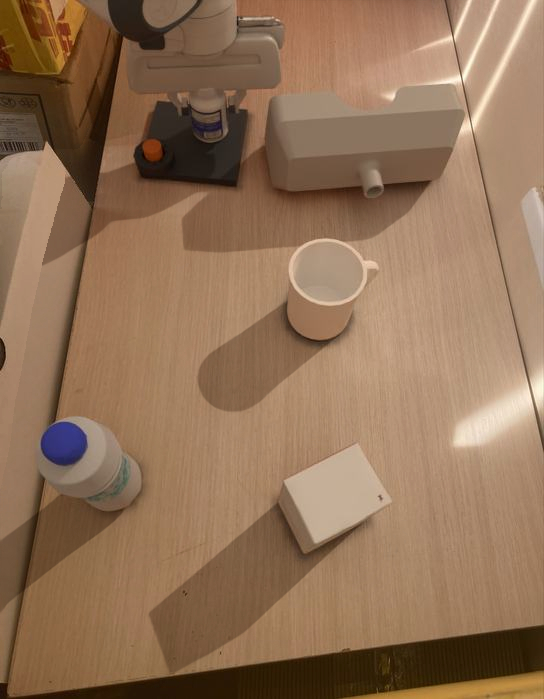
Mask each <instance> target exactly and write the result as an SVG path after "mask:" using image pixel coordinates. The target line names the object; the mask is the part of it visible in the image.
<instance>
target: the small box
mask: <svg viewBox="0 0 544 699" xmlns="http://www.w3.org/2000/svg"><path fill="white" fill-rule="evenodd" d="M277 503H278V505H279V507H280V509H281V511H282V513H283V516H284V518H285V519H286V521H287V523H288V525H289V527H290V529H291V532H292V533H293V536H294V537H295V540H296V541H297V543H298V546H299V548H300V549H301V552H302V553H303V554H304V555H306V554H308V553H310V552H313V551H314V550H316V549H318V548H320V547H321V546H323V545H325V544H326V543H327V544H328V542H331V541H332V540H334V539H336V538H337V537H340V536H341V535H344V534H345V533H347V532H348V531H350V530H352V529H354V528H355V527H357V526H359V525H360V524H363V523H364V522H365V521H367V520H368V519H370V518H371V517H372V516H374V515H376V514H377V513H379V512H380V511H382V510H383V509H385V508H388V506H390V505H392V504H393V500H392V498H391V496H390V495H389V494H388V492H387V490H386V488H385V487H384V485H383V483H382V482H381V480H380V479H379V477H378V476H377V474H376V472H375V470H374V468H373V467H372V465H371V464H370V462H369V460H368V458H367V456H366V454H365V453H364V451H363V450H362V448H361V445H360V444H359V443H358V442H354V443H352V444H350V445H348V446H346V447H344V448H343V449H340V450H338V451H336V452H334V453H332V454H331V455H328V456H327V457H324V458H323V459H321V460H319V461H316V462H315V463H313V464H311V465H309V466H307V467H305V468H303V469H302V470H299V471H298V472H296V473H293V474H292V475H290V476H287V477H286V478H284V479H283V480H282V484H281V488H280V492H279V497H278V501H277Z"/></svg>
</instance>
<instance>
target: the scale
mask: <svg viewBox="0 0 544 699" xmlns="http://www.w3.org/2000/svg"><path fill="white" fill-rule="evenodd" d="M188 107H189V115H188V116H179V115H178V108H177V107H176V106H175V105H174V104H173V103H172V102H171V101H166V100H156V103H155V108H154V111H153V115H152V118H151V123H150V127H149V131H148V135H147V138H146V140H142V141H141V142H140V143H138V145H137V146H135V147H134V152H133V155H132V156H133V159H134V164H135V166H136V168H137V170H138V172H139V176H140V178H143V179H151V180H152V179H153V180H161V181H163V180H164V181H172V182H183V183H193V184H203V185H212V186H213V185H214V186H223V187H233V188H237V186H238V181H239V174H240V169H241V162H242V154H243V149H244V141H245V137H246V129H247V123H248V116H249V112H248V109H246V108H239V113H229V109H228V107H227V116H228V132H227V134H226V136H225V137H224V138H223V139H221V140H220V141H217V142H213V143H207V142H203V141H201V140H199V139H198V138H197V137H196V136H195V135H194V132H193V127H192V120H191V113H190V106H189V103H188ZM149 139H156V140H158V141H159V142H160V143H161V146H162V151H163V157H162V159H161V160H159V161H157V162H150V161H148V160H147V159H146V158H145V155H144V151H143V147H142V146H143V143H144V142H145V141H147V140H149Z"/></svg>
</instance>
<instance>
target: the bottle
mask: <svg viewBox="0 0 544 699" xmlns="http://www.w3.org/2000/svg"><path fill="white" fill-rule="evenodd" d="M34 454H35V455H34V456H35V457H34V458H35V464H36V467H37V470H38V471H39V473H40V475H41V476H42V477H43V478H44V479H45V480H46V482H47V483H48V484H49V486H50V487H51V488H52V489H53V490H54V491H56V492H58V493H60V494H62V495H65V496H68V497H71V498H78V499H79V498H80V499H82V500H84V501H85V502H86V503H87V504H89V505H90V506H92V507H93V508H95V509H97V510H100V511H103V512H115V511H119V510H123V509H125V508H128V507H129V506H130V505H131V504H132V502H133V501H134V500H135V498H136V497H137V495H138V494H139V493H140V492H141V489H142V472H141V468H140V466H139V464H138V463H137V461H136V460H135V459H134V458H133V457H131V456H132V455H129V454H128V453H126V452H125V451H124V450H123V449H122V448H121V445H120V443H119V441H118V439H117V438H116V436H115V434H114V433H113V431H112V430H111V429H110V428H108V427H107V426H105V425H104V424H102V423H99V422H96V421H95V420H93V419H91V418H88V417H85V416H82V415H81V416H80V415H75V416H74V415H73V416H71V415H70V416H67V417H63V418H61V419H58V420H56V421H55V422H53V423H51V424H50V425H49V426H48V427H47V428H45V430H44V431H43V433H42V434H41V435H40V437H39V439H38V441H37V443H36V447H35V452H34Z"/></svg>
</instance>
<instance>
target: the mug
mask: <svg viewBox="0 0 544 699" xmlns="http://www.w3.org/2000/svg"><path fill="white" fill-rule="evenodd" d="M379 271H380V266H379V264H378V263H377V262H376V261H375V260H370V259H369V260H364V259H363V257H362V255H361V254H360V253H359V251H358V250H356V249H355V248H354V247H353V246H352V245H349V244H348V243H347V242H344V241H341V240H338V239H335V238H328V237H327V238H326V237H325V238H315V239H313V240H309V241H307V242H305V243H303V244H302V245H301V246H299V247H298V248H297V249H296V250H295V251H294V253H293V254H292V256H291V258H290V260H289V263H288V293H287V294H288V296H287V307H286V315H287V321H288V323H289V325H290V326H291V328H292V329H293V331H294V332H296V333H297V335H299V336H301V337H302V338H305V339H307V340H309V341H316V342H325V341H329V340H332V339H335V338H336V337H338V336H339V335H340V334H342V332H343V331H344V330H345V329H346V328H347V325H348V323H349V320H350V318H351V315H352V313H353V311H354V308H355V306H356V303H357V301H358V299H359V298H360V296H361V294H362V292H363V291H364V290H365V289H366V288H367V287H368V286H369V284H370V283H371V282H372V281H373V280H374V278H376V276H377V275H378V274H379Z"/></svg>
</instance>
